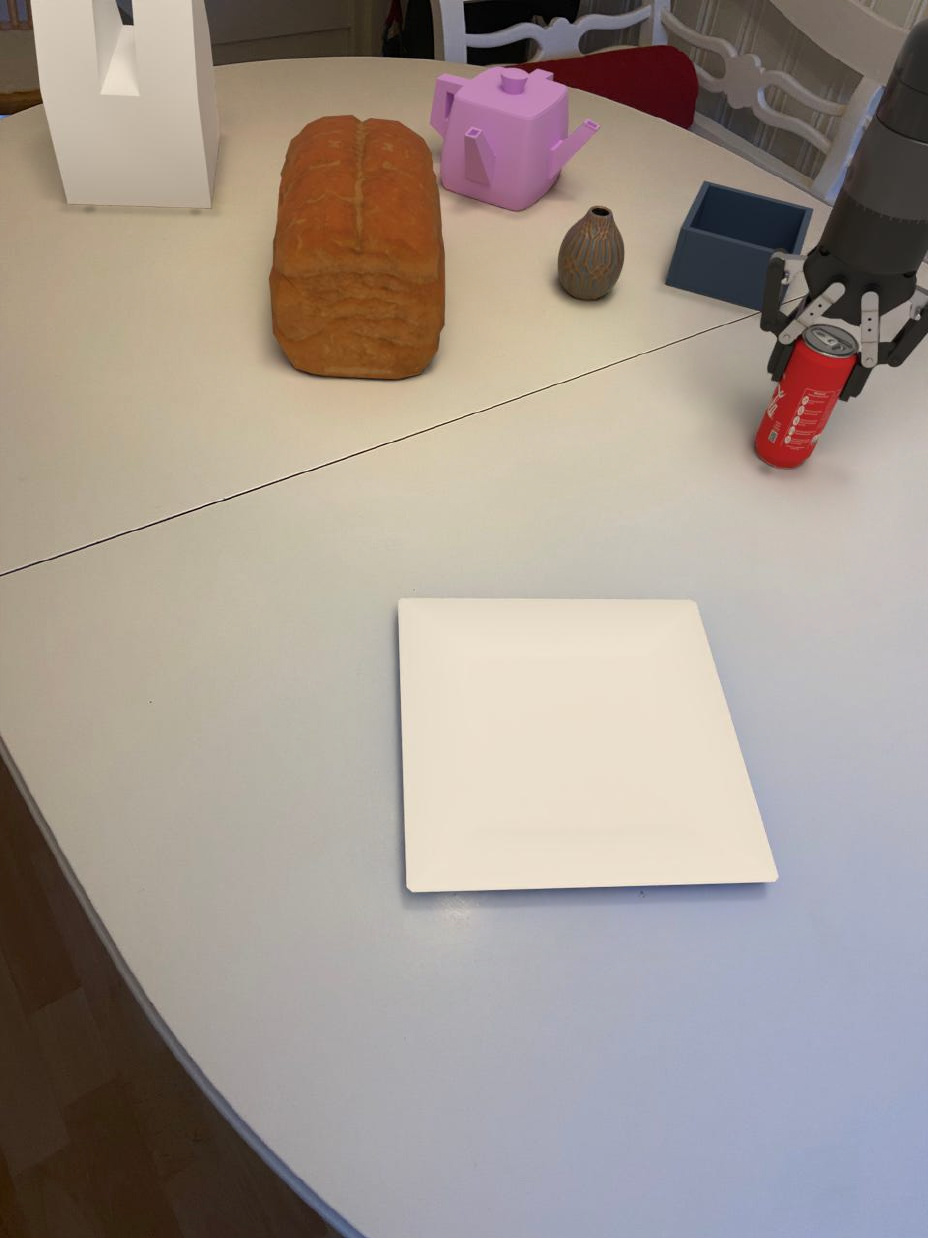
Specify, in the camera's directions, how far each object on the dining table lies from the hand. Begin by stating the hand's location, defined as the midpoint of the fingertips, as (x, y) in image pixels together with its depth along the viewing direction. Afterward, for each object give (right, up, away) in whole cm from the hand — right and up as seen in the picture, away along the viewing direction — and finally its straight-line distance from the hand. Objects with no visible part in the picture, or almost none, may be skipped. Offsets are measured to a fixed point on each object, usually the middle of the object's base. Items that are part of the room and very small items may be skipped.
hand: (809, 385), depth 79 cm
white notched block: (-67, +33, +30) cm, 80 cm away
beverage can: (-1, -5, +6) cm, 8 cm away
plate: (-23, -28, -16) cm, 40 cm away
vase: (-17, +15, +21) cm, 31 cm away
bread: (-40, +12, +16) cm, 45 cm away
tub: (+1, +19, +26) cm, 32 cm away
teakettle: (-25, +34, +36) cm, 55 cm away
